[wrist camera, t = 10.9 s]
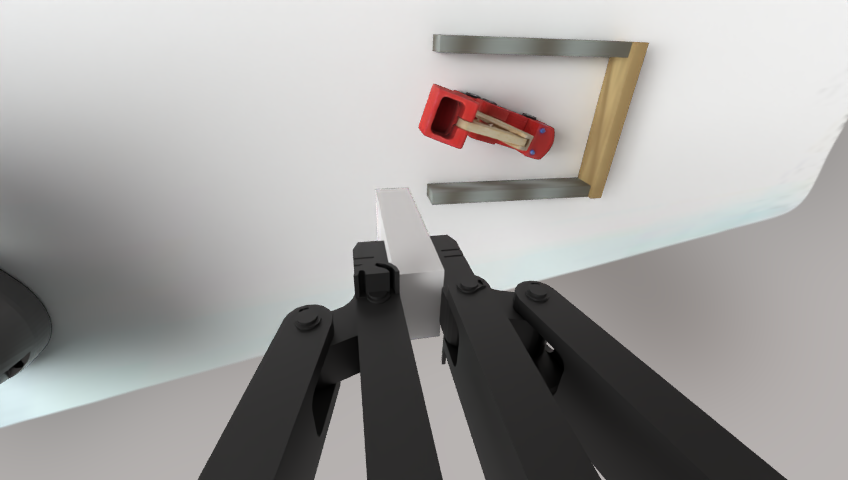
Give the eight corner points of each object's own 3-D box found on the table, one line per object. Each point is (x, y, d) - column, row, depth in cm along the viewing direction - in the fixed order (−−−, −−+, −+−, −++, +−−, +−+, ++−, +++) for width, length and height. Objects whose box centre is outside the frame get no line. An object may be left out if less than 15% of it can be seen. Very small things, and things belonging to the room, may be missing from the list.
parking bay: (426, 194, 37) (433, 206, 34) (433, 34, 30) (442, 35, 27) (584, 187, 40) (600, 197, 38) (625, 41, 33) (648, 42, 30)
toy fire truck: (528, 151, 37) (580, 187, 29) (402, 109, 32) (423, 137, 24) (543, 119, 35) (603, 147, 27) (414, 71, 31) (440, 87, 23)
